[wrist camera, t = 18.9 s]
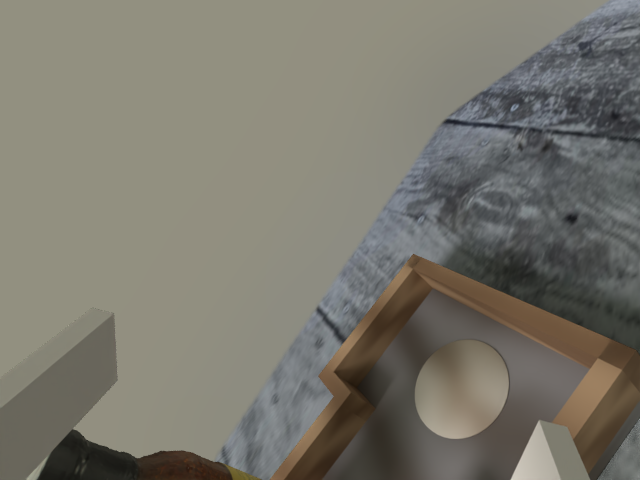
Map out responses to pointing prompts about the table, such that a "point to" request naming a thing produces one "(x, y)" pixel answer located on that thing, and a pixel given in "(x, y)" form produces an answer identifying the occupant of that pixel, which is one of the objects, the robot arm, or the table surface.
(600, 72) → the table surface
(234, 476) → the sauce bottle
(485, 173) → the table surface
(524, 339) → the keyhole guide
